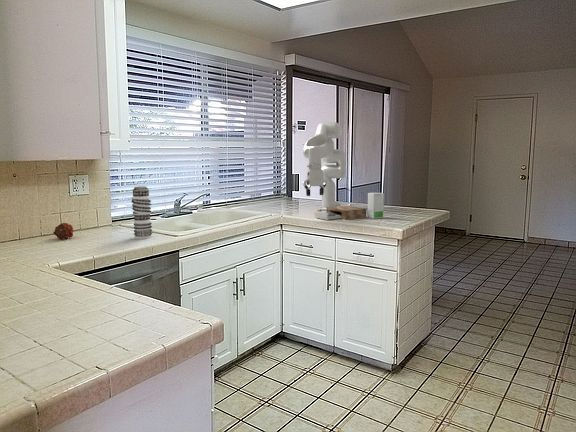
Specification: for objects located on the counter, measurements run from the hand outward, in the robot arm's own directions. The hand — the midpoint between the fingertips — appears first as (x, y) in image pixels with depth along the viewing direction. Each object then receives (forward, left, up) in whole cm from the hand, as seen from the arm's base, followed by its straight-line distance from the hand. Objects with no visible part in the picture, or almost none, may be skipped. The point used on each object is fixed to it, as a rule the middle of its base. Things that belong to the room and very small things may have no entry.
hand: (315, 195), depth 275 cm
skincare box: (-36, +14, -15) cm, 41 cm away
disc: (-11, 0, -14) cm, 17 cm away
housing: (-24, 0, -15) cm, 28 cm away
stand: (-12, -14, -15) cm, 24 cm away
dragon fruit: (+136, -18, -15) cm, 138 cm away
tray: (-12, 0, -15) cm, 19 cm away
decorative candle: (+102, 0, -15) cm, 103 cm away
